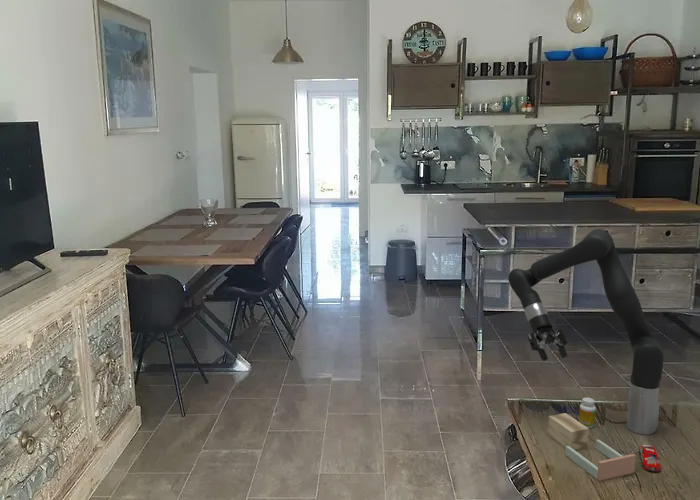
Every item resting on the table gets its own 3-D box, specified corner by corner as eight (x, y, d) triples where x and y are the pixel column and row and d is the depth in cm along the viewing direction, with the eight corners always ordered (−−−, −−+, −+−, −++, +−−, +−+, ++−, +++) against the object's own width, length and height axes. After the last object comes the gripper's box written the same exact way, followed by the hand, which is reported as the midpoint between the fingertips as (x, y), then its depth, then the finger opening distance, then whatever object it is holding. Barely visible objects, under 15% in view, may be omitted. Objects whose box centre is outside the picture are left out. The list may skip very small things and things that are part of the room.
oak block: (564, 431, 214) (565, 413, 212) (587, 447, 203) (588, 428, 201) (547, 434, 212) (548, 416, 210) (570, 451, 200) (571, 432, 199)
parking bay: (598, 447, 202) (599, 431, 201) (634, 472, 187) (635, 455, 186) (565, 454, 198) (566, 438, 197) (599, 481, 183) (600, 463, 182)
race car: (661, 475, 186) (662, 463, 186) (642, 472, 188) (643, 460, 187) (656, 453, 198) (657, 442, 198) (638, 450, 200) (639, 440, 199)
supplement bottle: (593, 429, 214) (594, 404, 212) (577, 425, 217) (579, 401, 215) (595, 423, 219) (597, 398, 217) (580, 419, 222) (582, 395, 220)
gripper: (527, 314, 215) (545, 357, 207) (559, 311, 220) (577, 352, 212) (516, 323, 221) (533, 365, 213) (547, 320, 226) (564, 360, 218)
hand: (555, 358), depth 213 cm, fingers open, 8 cm apart
